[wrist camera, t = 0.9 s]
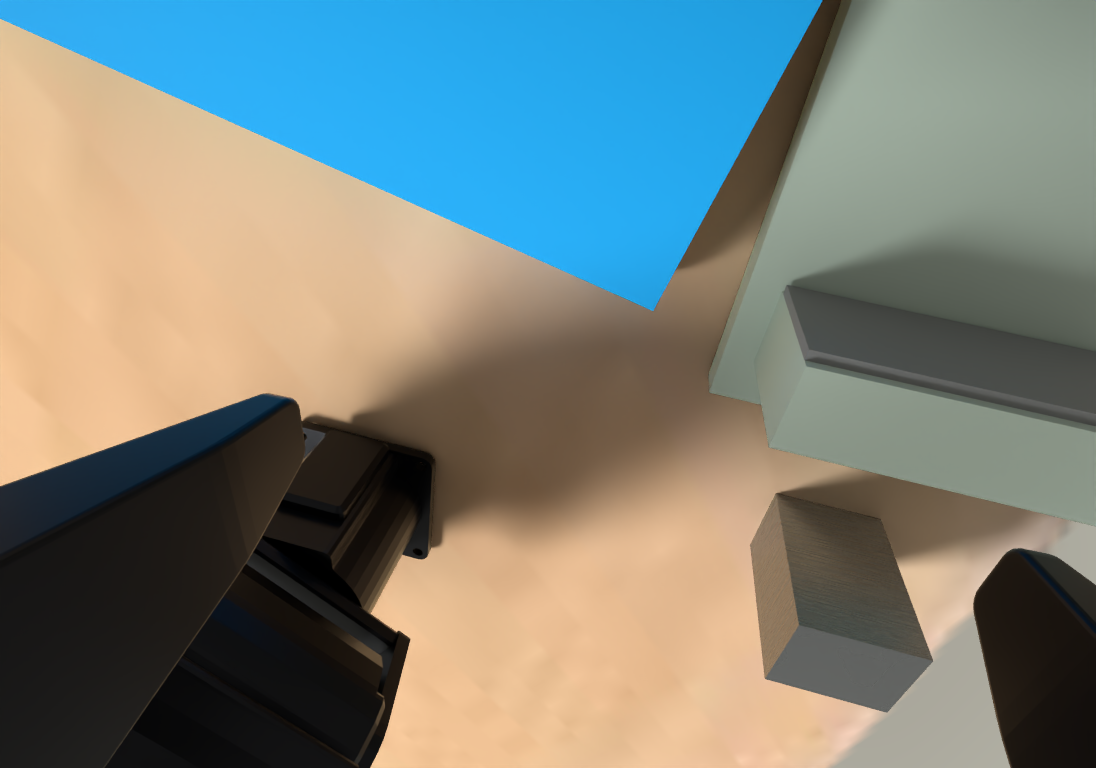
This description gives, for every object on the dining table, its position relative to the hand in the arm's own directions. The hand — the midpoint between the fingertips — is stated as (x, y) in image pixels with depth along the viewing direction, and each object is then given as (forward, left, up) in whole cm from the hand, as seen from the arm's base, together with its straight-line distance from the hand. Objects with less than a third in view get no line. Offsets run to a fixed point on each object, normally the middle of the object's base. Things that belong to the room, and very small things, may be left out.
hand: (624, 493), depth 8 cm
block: (-11, -9, -13) cm, 19 cm away
